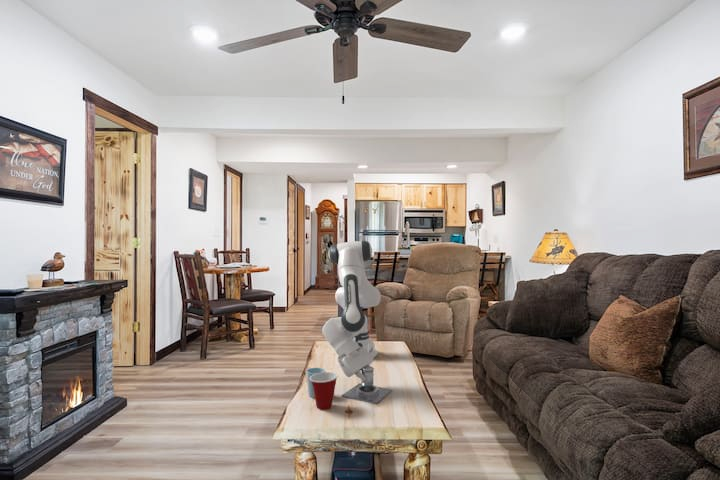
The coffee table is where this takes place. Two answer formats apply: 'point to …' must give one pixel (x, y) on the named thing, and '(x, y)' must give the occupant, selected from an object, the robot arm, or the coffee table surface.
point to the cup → (310, 386)
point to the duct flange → (367, 394)
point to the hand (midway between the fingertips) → (368, 378)
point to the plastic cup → (324, 389)
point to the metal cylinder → (368, 383)
